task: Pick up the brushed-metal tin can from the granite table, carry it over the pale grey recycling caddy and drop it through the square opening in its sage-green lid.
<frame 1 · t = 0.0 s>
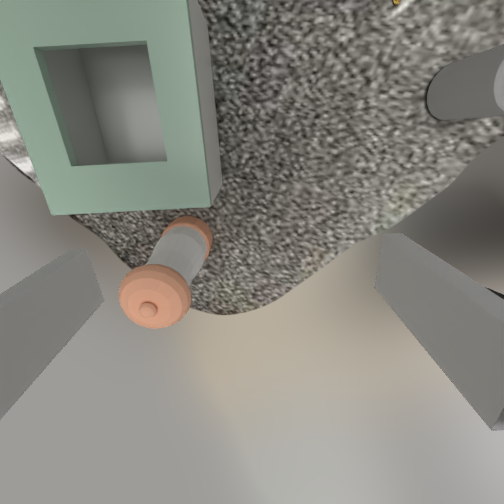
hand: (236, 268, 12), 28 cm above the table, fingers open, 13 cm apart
pepper shaker: (190, 237, 41), on the table
caddy: (155, 117, 34), on the table
beverage can: (447, 92, 33), on the table
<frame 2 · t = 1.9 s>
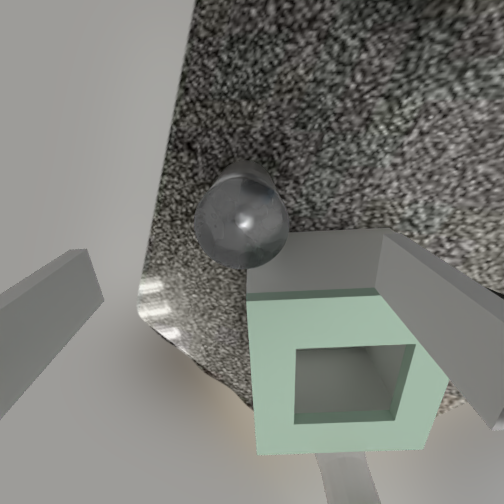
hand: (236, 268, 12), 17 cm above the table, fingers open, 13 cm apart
pepper shaker: (321, 387, 40), on the table
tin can: (245, 190, 28), on the table
caddy: (314, 297, 33), on the table
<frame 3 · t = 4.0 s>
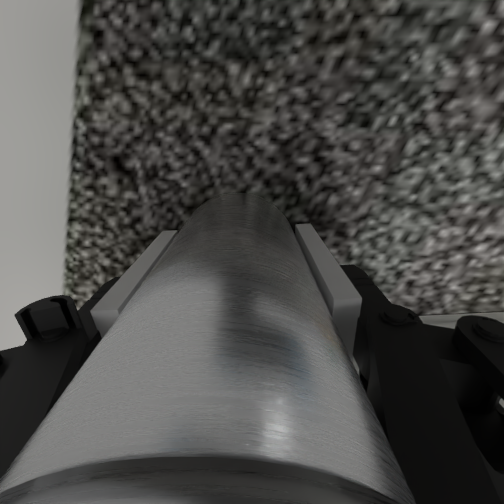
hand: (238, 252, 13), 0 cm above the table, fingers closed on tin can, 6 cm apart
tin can: (238, 249, 14), on the table, touching gripper
caddy: (358, 414, 20), on the table
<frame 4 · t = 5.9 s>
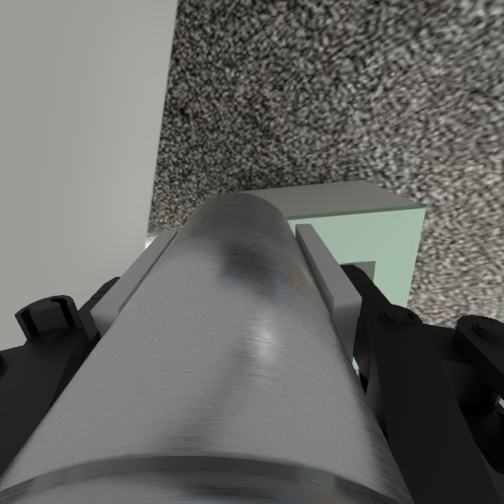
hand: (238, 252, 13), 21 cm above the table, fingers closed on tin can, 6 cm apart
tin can: (238, 249, 14), point 21 cm above the table, touching gripper
caddy: (301, 249, 37), on the table
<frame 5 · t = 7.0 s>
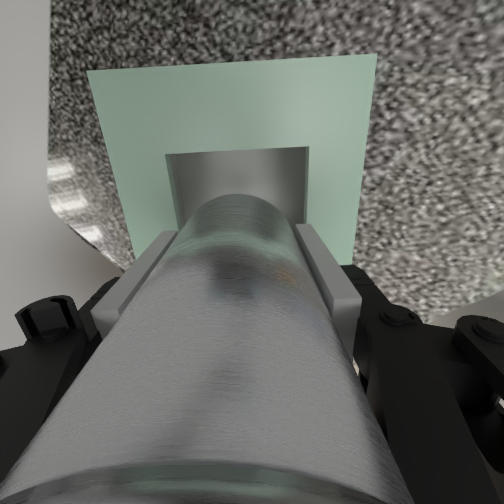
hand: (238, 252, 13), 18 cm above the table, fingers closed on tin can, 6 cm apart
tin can: (238, 250, 14), point 18 cm above the table, touching gripper
caddy: (244, 185, 30), on the table
when the fingers open (15 cm above the table, at t = 7.7 s): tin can drops 13 cm, resting on caddy.
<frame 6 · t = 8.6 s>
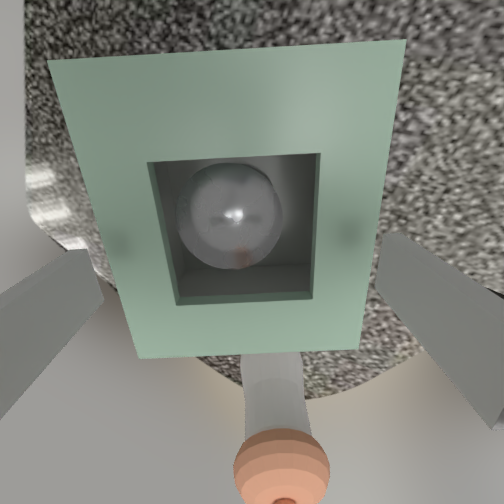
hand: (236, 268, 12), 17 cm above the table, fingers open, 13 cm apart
pepper shaker: (267, 321, 34), on the table
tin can: (243, 195, 26), point 1 cm above the table, tilted 6°, touching caddy
caddy: (243, 193, 27), on the table
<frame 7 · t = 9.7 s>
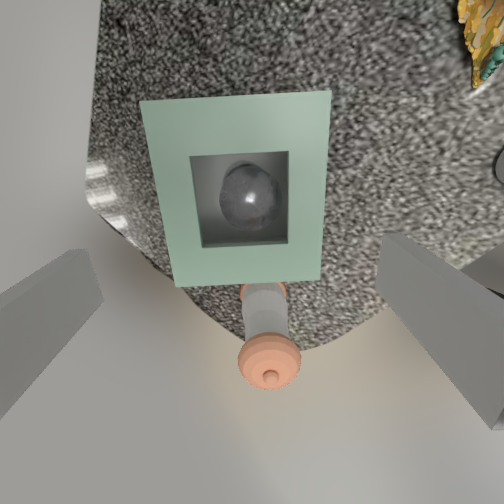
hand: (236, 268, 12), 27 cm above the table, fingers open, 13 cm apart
pepper shaker: (262, 284, 44), on the table
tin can: (244, 183, 36), point 1 cm above the table, touching caddy
caddy: (244, 182, 37), on the table
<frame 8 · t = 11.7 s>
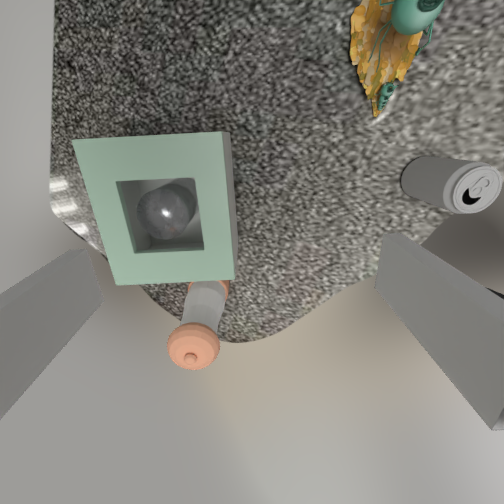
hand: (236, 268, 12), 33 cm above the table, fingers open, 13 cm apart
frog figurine: (378, 42, 35), on the table
pepper shaker: (210, 282, 50), on the table
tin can: (185, 195, 42), point 1 cm above the table, touching caddy
caddy: (186, 194, 43), on the table
beverage can: (417, 176, 42), on the table
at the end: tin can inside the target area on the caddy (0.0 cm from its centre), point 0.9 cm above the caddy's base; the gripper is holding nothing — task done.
